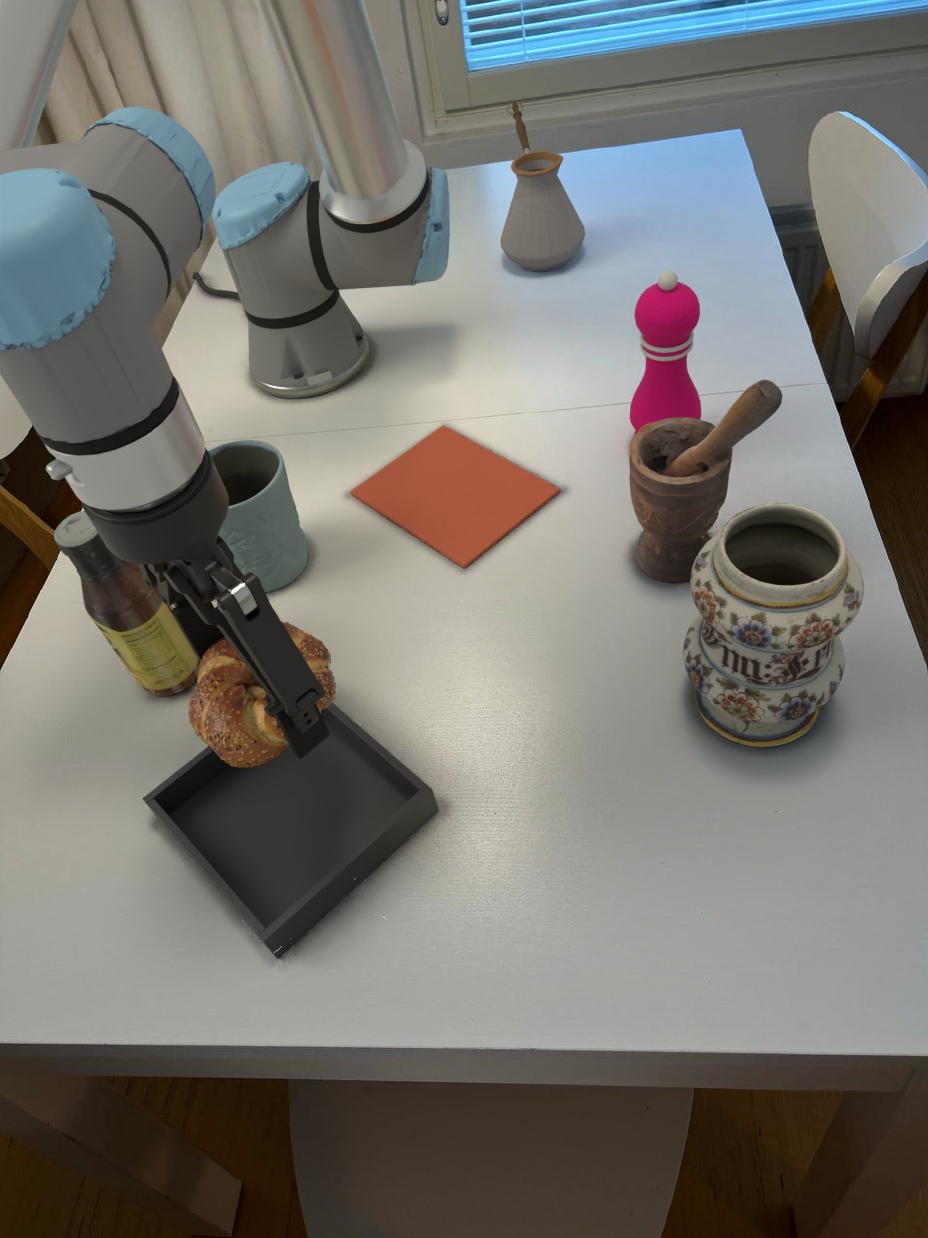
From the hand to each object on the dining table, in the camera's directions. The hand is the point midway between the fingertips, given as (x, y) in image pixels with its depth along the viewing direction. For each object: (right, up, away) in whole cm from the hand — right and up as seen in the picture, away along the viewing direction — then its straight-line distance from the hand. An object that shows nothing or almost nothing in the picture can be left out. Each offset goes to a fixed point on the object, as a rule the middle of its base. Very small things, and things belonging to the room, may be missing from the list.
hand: (263, 698), depth 69 cm
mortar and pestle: (+36, +12, +20) cm, 43 cm away
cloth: (+14, +19, +31) cm, 39 cm away
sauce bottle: (-13, 0, +20) cm, 24 cm away
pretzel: (0, 0, 0) cm, 1 cm away
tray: (+1, -10, +8) cm, 13 cm away
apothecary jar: (+39, -1, +9) cm, 40 cm away
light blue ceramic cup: (-6, +12, +28) cm, 31 cm away
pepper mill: (+36, +24, +31) cm, 53 cm away
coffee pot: (+25, +59, +64) cm, 90 cm away
